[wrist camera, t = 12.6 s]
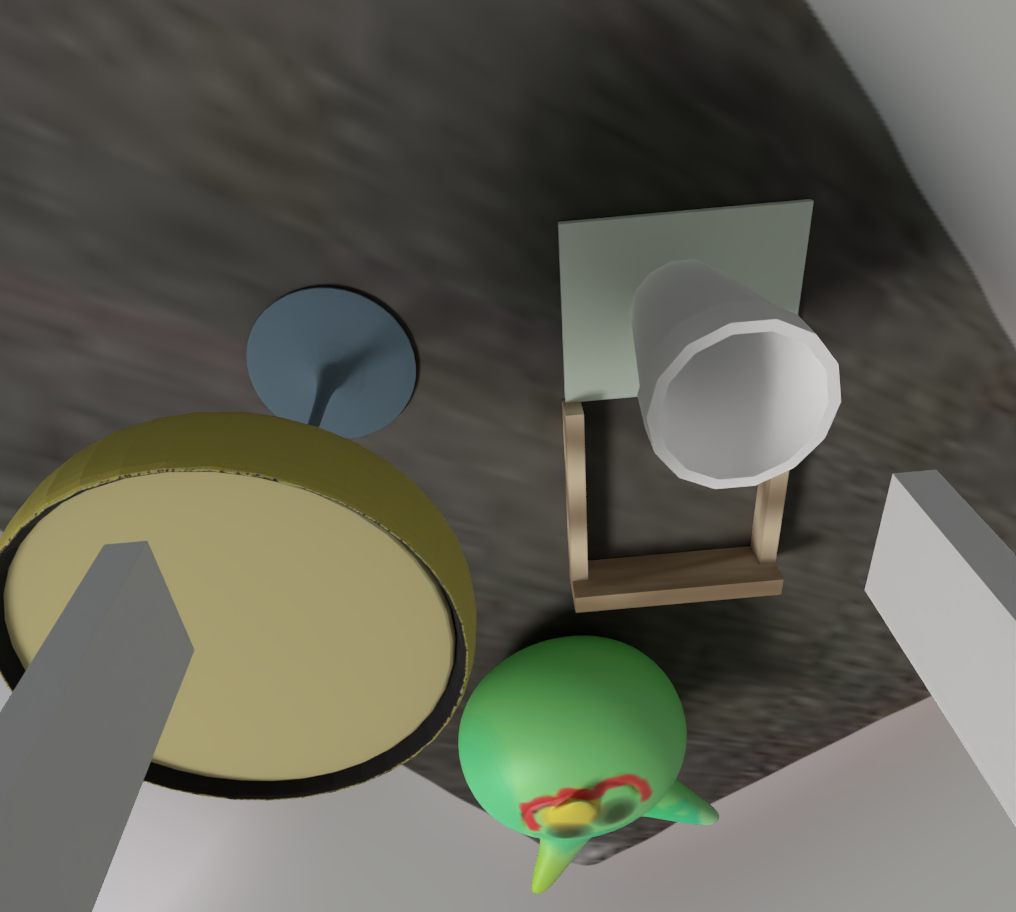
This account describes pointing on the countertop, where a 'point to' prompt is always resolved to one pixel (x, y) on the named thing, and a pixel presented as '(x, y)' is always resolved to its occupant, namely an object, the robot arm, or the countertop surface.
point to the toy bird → (576, 746)
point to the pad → (648, 246)
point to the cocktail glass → (271, 564)
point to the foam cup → (727, 378)
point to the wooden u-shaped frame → (672, 572)
